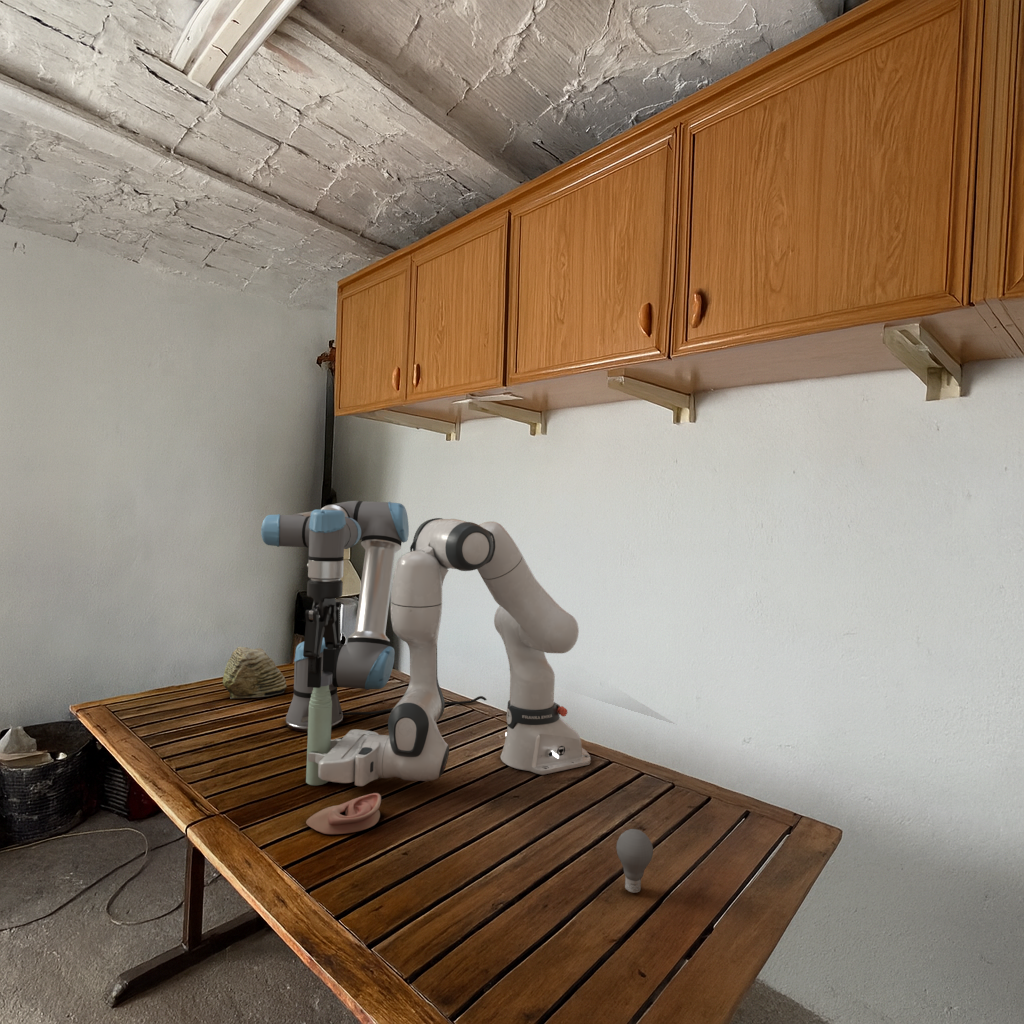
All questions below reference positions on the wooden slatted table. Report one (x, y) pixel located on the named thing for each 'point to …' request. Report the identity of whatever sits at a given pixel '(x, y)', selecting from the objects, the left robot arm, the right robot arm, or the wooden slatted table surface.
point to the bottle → (318, 730)
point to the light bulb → (634, 857)
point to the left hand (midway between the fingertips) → (321, 681)
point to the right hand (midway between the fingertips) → (314, 750)
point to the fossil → (252, 674)
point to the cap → (326, 678)
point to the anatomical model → (347, 816)
